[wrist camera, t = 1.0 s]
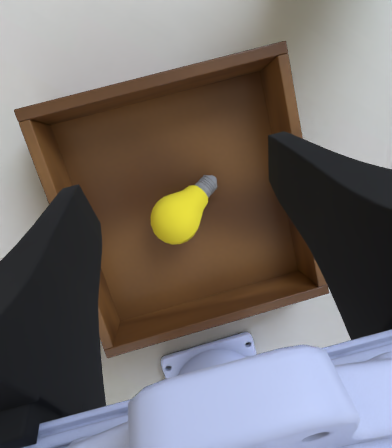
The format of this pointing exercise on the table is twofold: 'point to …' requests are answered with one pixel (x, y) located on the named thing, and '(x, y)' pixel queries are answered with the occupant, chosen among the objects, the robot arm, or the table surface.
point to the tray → (177, 181)
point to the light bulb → (182, 211)
